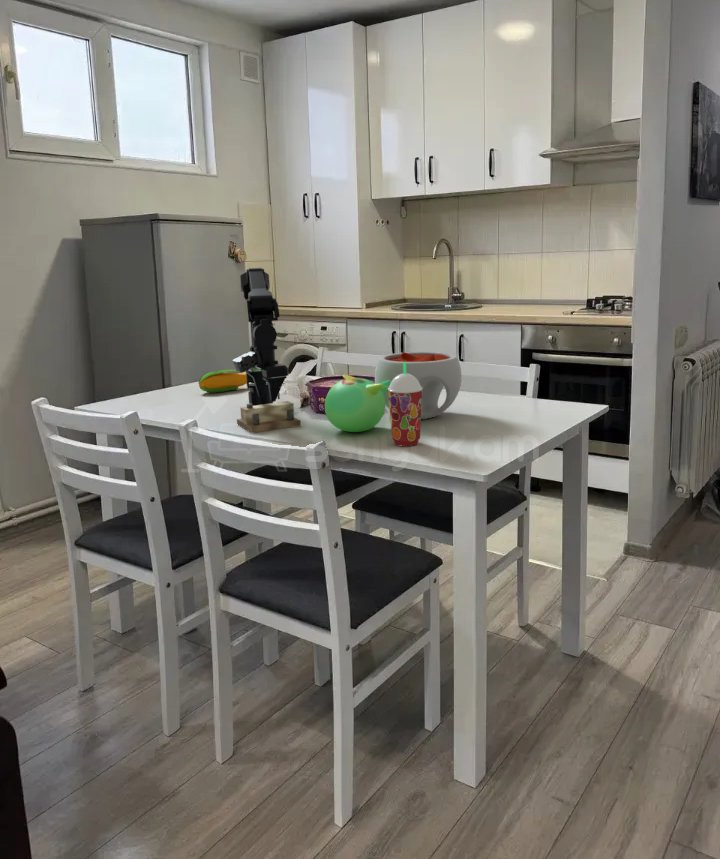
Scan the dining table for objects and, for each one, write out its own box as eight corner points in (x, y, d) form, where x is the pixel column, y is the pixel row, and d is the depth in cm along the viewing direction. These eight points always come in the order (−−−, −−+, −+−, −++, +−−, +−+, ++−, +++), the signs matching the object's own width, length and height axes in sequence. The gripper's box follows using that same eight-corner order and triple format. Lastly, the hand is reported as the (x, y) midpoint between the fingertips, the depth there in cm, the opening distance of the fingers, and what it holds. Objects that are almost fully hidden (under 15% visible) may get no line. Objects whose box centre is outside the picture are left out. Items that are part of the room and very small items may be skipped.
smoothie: (421, 438, 190) (420, 358, 185) (425, 447, 182) (424, 364, 177) (387, 440, 190) (385, 360, 185) (390, 448, 181) (388, 365, 177)
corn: (193, 370, 260) (247, 364, 271) (195, 392, 263) (248, 385, 273) (202, 374, 255) (256, 368, 265) (203, 397, 257) (257, 389, 268)
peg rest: (283, 417, 219) (282, 402, 218) (300, 425, 208) (299, 409, 207) (237, 424, 212) (236, 408, 211) (252, 432, 202) (251, 416, 201)
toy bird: (333, 422, 211) (331, 370, 207) (394, 423, 208) (392, 369, 204) (319, 438, 193) (316, 381, 190) (385, 439, 191) (384, 381, 187)
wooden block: (288, 415, 215) (287, 397, 214) (294, 417, 212) (293, 399, 210) (241, 421, 209) (240, 403, 207) (246, 424, 205) (245, 406, 204)
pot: (400, 405, 231) (399, 346, 227) (474, 411, 219) (475, 349, 215) (360, 421, 211) (358, 357, 207) (439, 429, 199) (438, 361, 195)
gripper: (223, 341, 209) (227, 397, 213) (247, 347, 193) (251, 408, 197) (261, 338, 214) (265, 392, 218) (287, 344, 198) (291, 403, 202)
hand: (267, 399), depth 208 cm, fingers open, 9 cm apart
